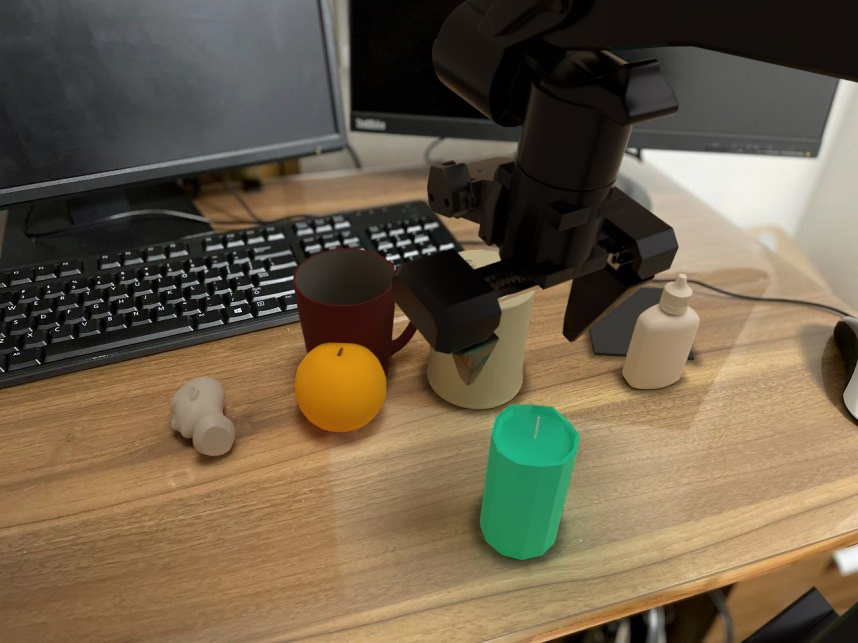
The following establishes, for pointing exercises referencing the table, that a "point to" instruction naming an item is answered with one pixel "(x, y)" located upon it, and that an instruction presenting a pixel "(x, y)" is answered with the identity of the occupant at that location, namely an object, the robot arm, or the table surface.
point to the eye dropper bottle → (662, 339)
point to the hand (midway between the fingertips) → (518, 358)
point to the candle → (527, 479)
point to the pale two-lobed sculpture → (203, 416)
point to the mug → (349, 302)
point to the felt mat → (623, 323)
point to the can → (503, 363)
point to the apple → (340, 386)
